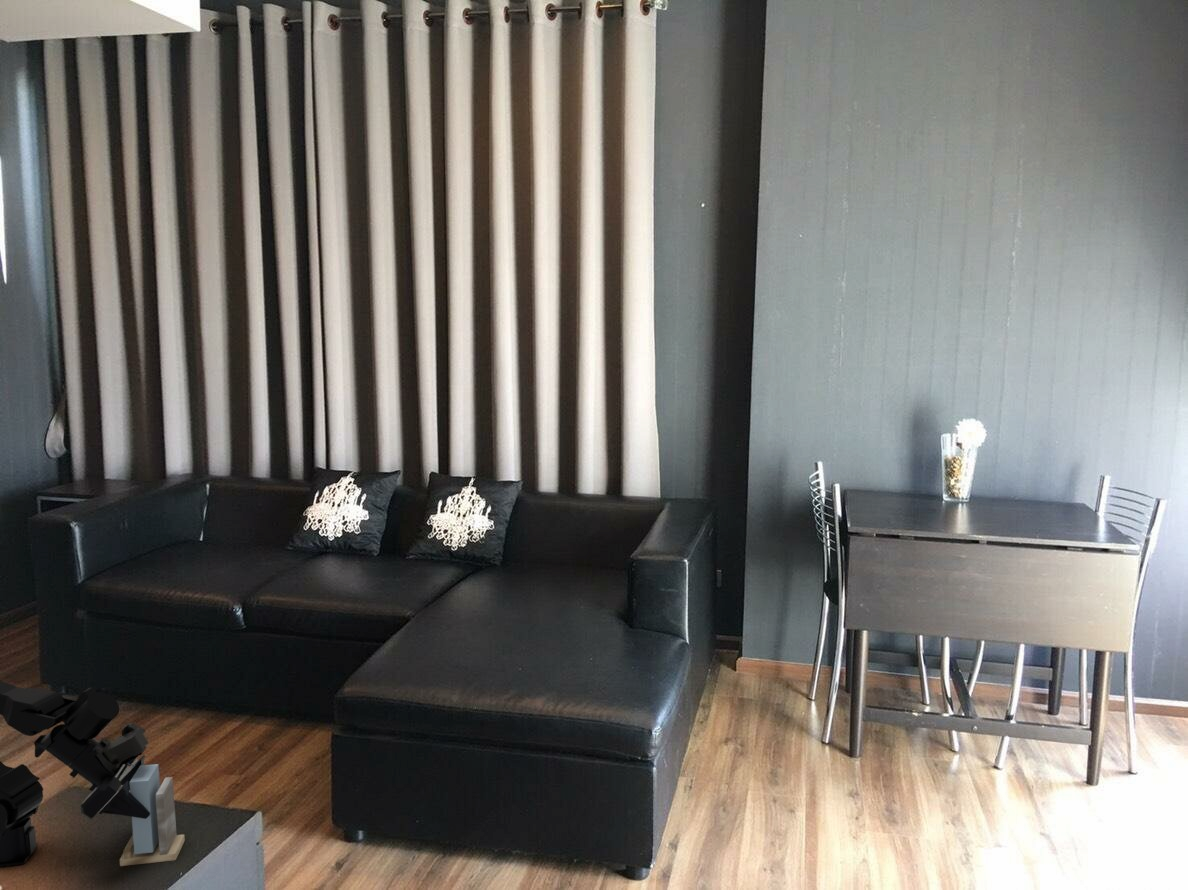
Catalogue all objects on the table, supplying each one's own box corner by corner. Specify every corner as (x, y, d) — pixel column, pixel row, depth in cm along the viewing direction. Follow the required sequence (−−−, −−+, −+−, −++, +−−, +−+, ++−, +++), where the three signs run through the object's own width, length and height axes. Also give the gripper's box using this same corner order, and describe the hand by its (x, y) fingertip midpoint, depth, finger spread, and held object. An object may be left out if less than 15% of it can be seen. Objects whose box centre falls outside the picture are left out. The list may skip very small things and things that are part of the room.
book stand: (120, 866, 162) (114, 798, 161) (131, 846, 169) (126, 781, 167) (175, 860, 164) (171, 793, 163) (184, 840, 170) (180, 776, 169)
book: (134, 854, 163) (129, 782, 161) (145, 834, 169) (140, 765, 167) (152, 852, 163) (148, 780, 162) (162, 833, 170) (158, 763, 168)
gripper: (96, 740, 154) (173, 798, 157) (130, 697, 172) (198, 750, 175) (47, 791, 153) (125, 848, 156) (86, 743, 171) (155, 794, 174)
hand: (153, 806), depth 165 cm, fingers closed on book, 6 cm apart
